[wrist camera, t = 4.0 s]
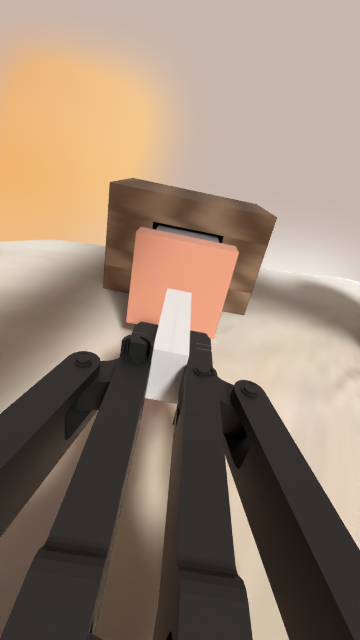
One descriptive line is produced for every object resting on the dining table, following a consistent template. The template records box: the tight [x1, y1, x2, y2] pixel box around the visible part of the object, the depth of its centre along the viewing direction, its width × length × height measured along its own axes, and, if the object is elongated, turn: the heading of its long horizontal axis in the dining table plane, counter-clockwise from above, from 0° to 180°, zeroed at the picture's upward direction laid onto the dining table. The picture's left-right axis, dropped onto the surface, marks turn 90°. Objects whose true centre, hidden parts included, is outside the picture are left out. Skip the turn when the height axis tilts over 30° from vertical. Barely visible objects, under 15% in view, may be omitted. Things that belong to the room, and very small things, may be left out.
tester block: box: [103, 178, 277, 315], centre depth 38 cm, size 18×12×12 cm, turn 87°
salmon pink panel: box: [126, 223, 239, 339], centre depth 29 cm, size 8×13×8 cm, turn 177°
